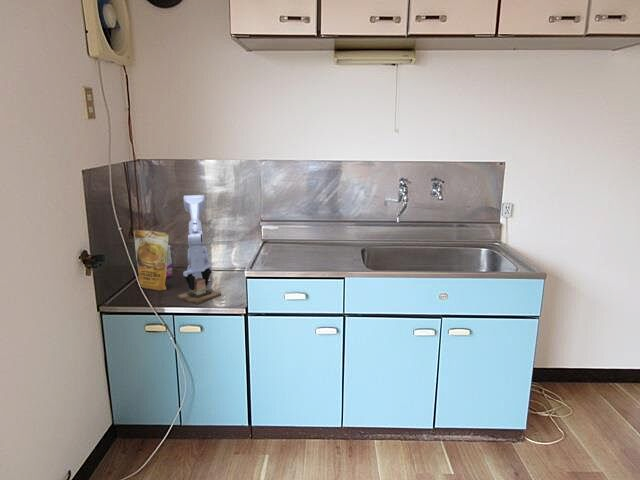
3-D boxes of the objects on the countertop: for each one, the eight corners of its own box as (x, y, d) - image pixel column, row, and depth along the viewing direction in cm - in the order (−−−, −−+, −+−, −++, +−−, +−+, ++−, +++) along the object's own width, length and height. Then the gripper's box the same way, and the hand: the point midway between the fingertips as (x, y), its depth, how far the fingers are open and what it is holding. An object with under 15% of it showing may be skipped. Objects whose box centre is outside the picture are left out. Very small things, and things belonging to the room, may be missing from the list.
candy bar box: (167, 274, 251) (164, 244, 247) (173, 275, 249) (171, 245, 245) (149, 280, 242) (146, 249, 238) (156, 281, 240) (153, 250, 236)
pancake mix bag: (142, 282, 238) (137, 228, 231) (174, 287, 231) (169, 231, 225) (133, 287, 232) (127, 231, 225) (165, 292, 225) (160, 234, 218)
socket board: (177, 297, 218) (176, 293, 217) (201, 289, 229) (201, 285, 228) (197, 304, 210) (196, 299, 209) (221, 295, 221) (221, 291, 220)
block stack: (191, 294, 219) (190, 279, 217) (199, 291, 222) (198, 277, 220) (198, 296, 216) (197, 281, 214) (205, 293, 219) (205, 279, 218)
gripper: (189, 264, 207) (191, 293, 210) (215, 256, 218) (216, 284, 221) (179, 261, 211) (181, 290, 214) (205, 254, 222) (206, 281, 226)
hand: (198, 287), depth 218 cm, fingers open, 7 cm apart
